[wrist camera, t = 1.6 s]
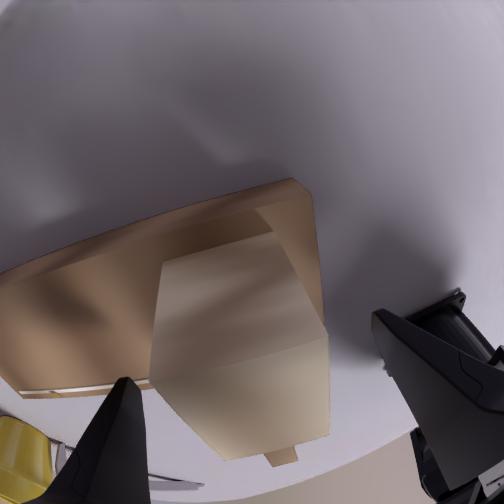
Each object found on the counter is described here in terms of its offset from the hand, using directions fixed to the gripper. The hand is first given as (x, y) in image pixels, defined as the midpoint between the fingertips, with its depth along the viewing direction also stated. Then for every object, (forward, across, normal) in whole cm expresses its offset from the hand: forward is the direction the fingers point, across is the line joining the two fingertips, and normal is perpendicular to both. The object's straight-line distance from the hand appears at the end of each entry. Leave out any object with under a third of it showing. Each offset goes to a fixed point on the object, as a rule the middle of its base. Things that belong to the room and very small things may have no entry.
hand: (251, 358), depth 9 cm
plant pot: (+5, +28, +13) cm, 31 cm away
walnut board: (+4, +7, 0) cm, 8 cm away
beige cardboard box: (+3, 0, +1) cm, 3 cm away
